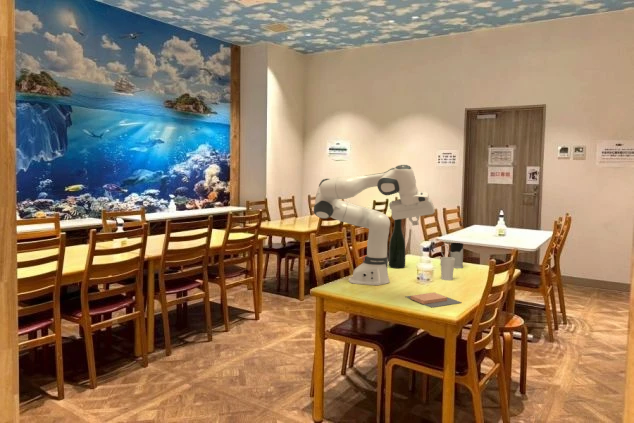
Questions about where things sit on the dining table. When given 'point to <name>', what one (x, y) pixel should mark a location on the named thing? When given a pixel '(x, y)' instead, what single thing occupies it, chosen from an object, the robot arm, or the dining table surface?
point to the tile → (428, 298)
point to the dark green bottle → (397, 247)
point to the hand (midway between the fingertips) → (415, 224)
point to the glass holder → (456, 254)
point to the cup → (447, 268)
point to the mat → (443, 303)
